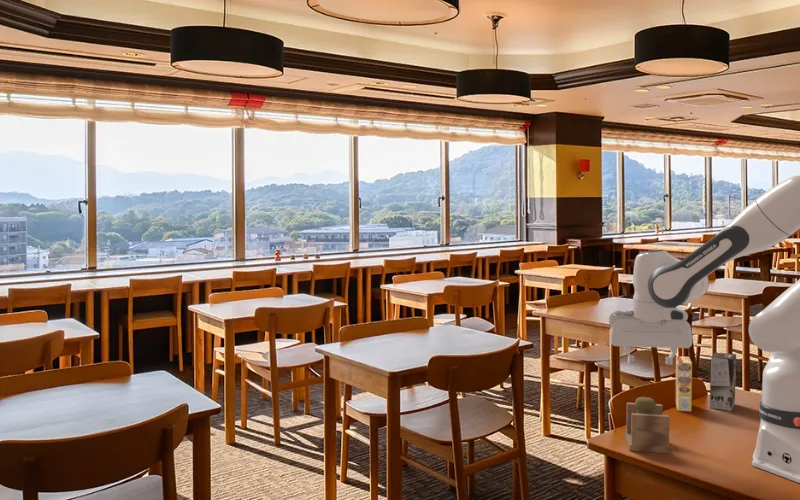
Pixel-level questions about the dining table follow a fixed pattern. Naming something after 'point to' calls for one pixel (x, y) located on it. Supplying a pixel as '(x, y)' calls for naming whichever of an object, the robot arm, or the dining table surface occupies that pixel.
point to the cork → (645, 405)
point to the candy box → (683, 383)
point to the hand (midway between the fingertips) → (649, 363)
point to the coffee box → (722, 381)
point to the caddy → (647, 430)
